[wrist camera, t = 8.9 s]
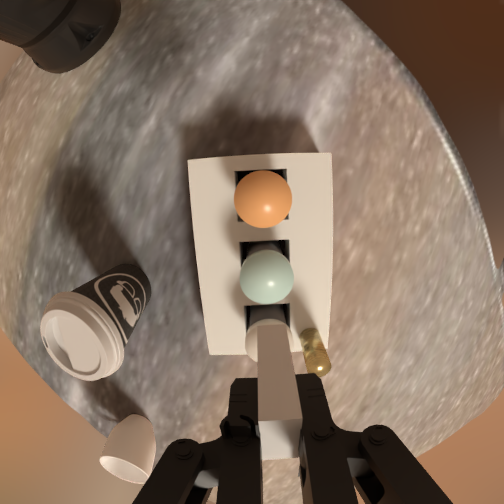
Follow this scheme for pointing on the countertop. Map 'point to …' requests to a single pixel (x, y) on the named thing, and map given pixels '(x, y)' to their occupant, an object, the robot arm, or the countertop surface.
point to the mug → (130, 449)
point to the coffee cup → (95, 322)
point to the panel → (237, 231)
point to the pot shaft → (314, 352)
